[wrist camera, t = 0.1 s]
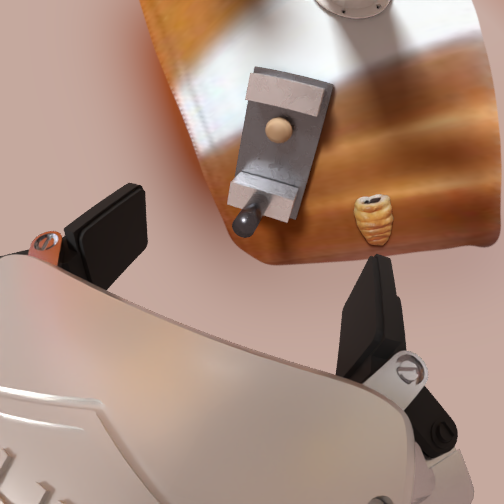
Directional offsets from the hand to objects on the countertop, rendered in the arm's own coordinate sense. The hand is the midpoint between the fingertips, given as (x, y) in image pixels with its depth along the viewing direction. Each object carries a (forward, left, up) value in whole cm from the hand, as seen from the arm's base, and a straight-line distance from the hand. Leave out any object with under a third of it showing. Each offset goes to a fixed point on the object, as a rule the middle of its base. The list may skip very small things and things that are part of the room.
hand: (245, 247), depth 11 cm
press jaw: (+14, -5, -35) cm, 38 cm away
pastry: (+13, +14, -37) cm, 42 cm away
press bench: (+6, -5, -37) cm, 37 cm away
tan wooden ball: (+3, -5, -33) cm, 34 cm away
